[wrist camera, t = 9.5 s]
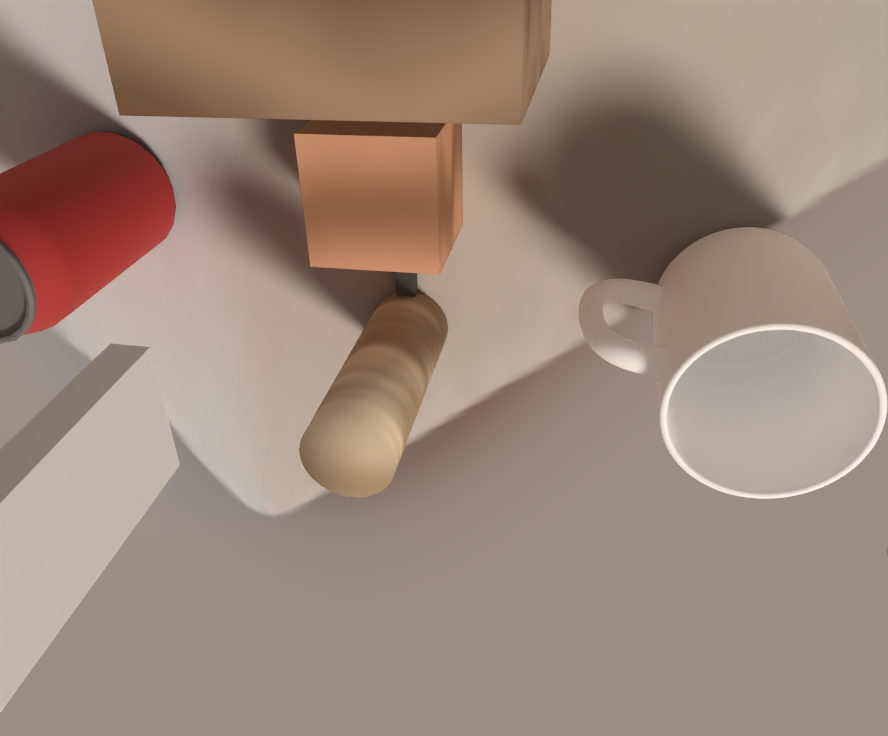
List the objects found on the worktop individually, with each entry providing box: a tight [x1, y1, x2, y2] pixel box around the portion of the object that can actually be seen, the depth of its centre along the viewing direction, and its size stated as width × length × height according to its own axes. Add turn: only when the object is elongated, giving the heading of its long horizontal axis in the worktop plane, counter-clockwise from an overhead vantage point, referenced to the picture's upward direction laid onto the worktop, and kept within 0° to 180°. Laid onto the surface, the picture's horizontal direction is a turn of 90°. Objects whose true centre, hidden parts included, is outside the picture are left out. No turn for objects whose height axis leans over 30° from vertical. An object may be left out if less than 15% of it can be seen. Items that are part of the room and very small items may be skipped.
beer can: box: [0, 132, 176, 344], centre depth 37 cm, size 7×7×12 cm
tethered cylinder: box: [294, 120, 463, 497], centre depth 36 cm, size 14×6×12 cm, turn 1°
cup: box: [579, 227, 887, 498], centre depth 35 cm, size 8×12×10 cm
